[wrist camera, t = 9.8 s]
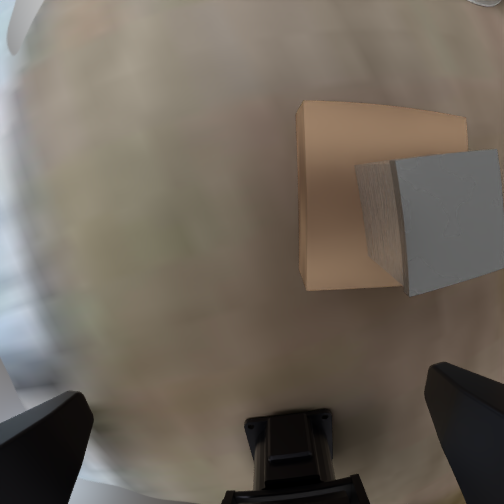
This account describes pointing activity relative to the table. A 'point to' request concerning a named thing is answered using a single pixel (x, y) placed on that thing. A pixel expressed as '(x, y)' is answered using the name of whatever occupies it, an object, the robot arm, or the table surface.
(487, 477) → the robot arm
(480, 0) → the white cylinder
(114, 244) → the table surface
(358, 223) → the tan block
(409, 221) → the grey cube
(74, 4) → the table surface
